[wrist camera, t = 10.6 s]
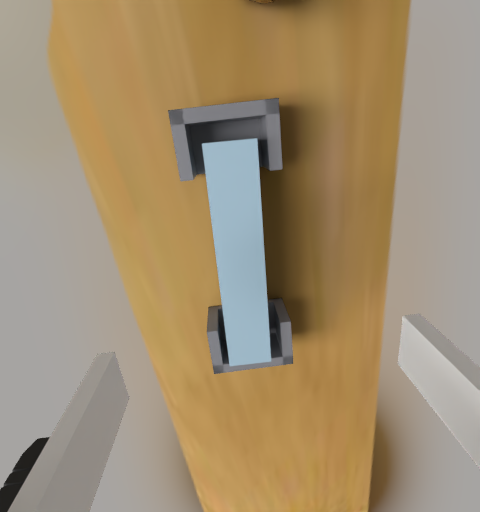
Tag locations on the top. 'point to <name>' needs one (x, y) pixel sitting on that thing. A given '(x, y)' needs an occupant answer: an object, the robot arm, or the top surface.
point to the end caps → (192, 163)
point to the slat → (239, 247)
